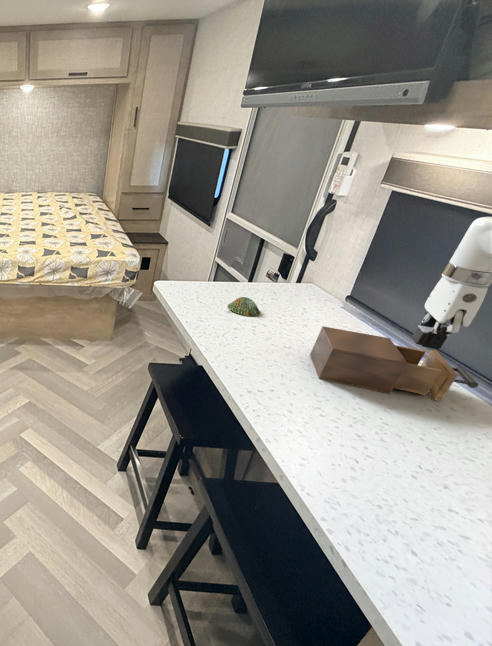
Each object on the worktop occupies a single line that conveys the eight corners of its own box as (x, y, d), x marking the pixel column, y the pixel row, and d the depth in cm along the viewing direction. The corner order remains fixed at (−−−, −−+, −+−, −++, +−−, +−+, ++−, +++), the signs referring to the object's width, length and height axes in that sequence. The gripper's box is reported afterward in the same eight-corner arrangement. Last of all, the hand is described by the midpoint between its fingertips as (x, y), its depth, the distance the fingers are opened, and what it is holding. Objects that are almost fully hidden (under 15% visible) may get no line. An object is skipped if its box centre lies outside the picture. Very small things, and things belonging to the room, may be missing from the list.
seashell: (232, 302, 136) (230, 291, 144) (228, 312, 138) (226, 301, 146) (265, 309, 133) (261, 298, 141) (260, 320, 135) (257, 308, 143)
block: (434, 341, 98) (442, 329, 96) (440, 348, 95) (449, 335, 93) (411, 337, 99) (418, 325, 98) (416, 344, 97) (424, 331, 95)
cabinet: (373, 367, 110) (389, 338, 105) (389, 394, 100) (408, 362, 95) (309, 354, 116) (322, 326, 111) (318, 378, 106) (333, 348, 101)
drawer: (448, 380, 103) (465, 355, 99) (471, 407, 94) (490, 381, 90) (357, 362, 110) (369, 338, 107) (369, 385, 101) (383, 360, 98)
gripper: (514, 291, 80) (463, 365, 89) (472, 264, 93) (431, 330, 102) (464, 284, 83) (419, 356, 92) (430, 259, 96) (394, 324, 105)
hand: (426, 342), depth 97 cm, fingers closed on block, 3 cm apart
